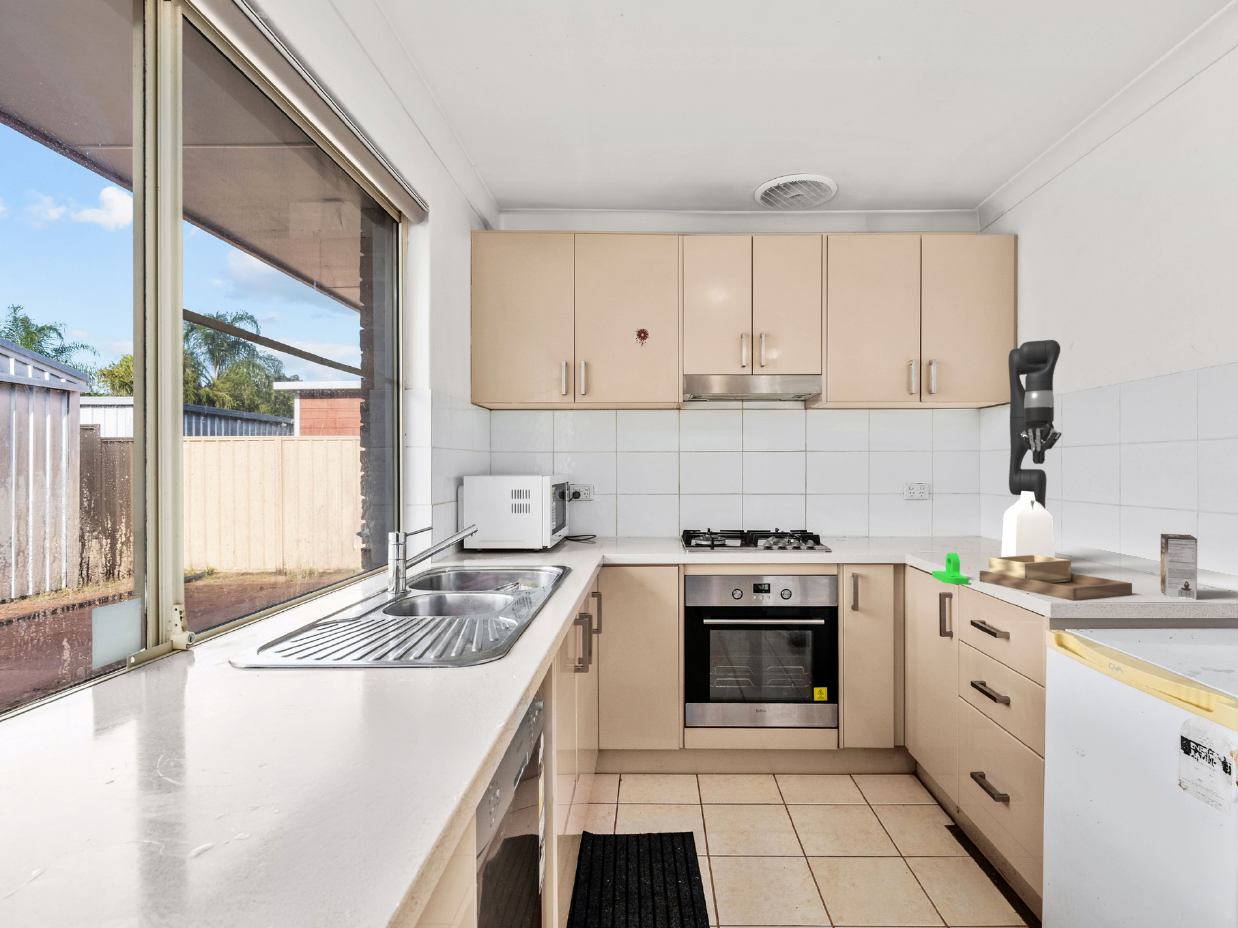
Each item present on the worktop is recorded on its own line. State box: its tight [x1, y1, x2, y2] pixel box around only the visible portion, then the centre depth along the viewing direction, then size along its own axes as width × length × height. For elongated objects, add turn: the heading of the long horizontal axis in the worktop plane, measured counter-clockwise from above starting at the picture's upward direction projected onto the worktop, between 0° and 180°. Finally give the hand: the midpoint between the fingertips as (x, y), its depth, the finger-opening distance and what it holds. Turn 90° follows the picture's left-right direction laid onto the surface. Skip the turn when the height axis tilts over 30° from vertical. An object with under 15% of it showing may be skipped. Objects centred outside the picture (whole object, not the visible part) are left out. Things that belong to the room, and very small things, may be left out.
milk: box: [1000, 491, 1056, 558], centre depth 206 cm, size 12×12×26 cm
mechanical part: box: [931, 552, 970, 586], centre depth 192 cm, size 12×6×8 cm, turn 173°
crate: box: [988, 555, 1072, 583], centre depth 187 cm, size 12×18×6 cm, turn 109°
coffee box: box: [1160, 533, 1198, 600], centre depth 170 cm, size 9×6×16 cm
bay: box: [979, 570, 1133, 601], centre depth 181 cm, size 28×22×3 cm
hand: (1038, 463), depth 194 cm, fingers closed
